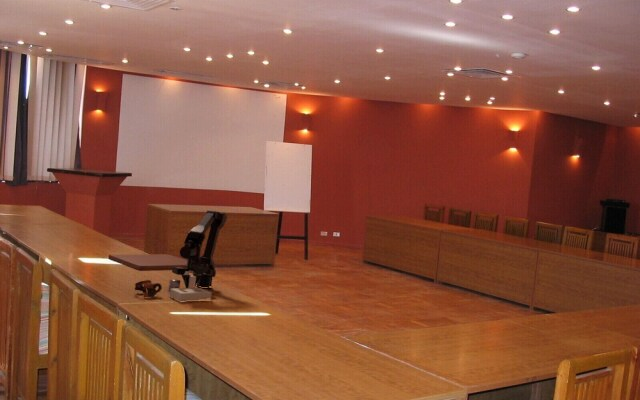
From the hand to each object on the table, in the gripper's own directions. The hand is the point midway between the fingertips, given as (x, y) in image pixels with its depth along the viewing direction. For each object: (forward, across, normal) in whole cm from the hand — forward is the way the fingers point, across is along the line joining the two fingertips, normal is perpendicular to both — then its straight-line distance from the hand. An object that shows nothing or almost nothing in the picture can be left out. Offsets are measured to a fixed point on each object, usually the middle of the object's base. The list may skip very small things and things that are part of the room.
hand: (190, 288), depth 336 cm
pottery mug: (+2, -24, -4) cm, 24 cm away
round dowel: (+2, -8, +1) cm, 8 cm away
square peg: (+2, 0, 0) cm, 2 cm away
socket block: (+2, -7, -13) cm, 15 cm away
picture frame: (+3, +17, +72) cm, 74 cm away
